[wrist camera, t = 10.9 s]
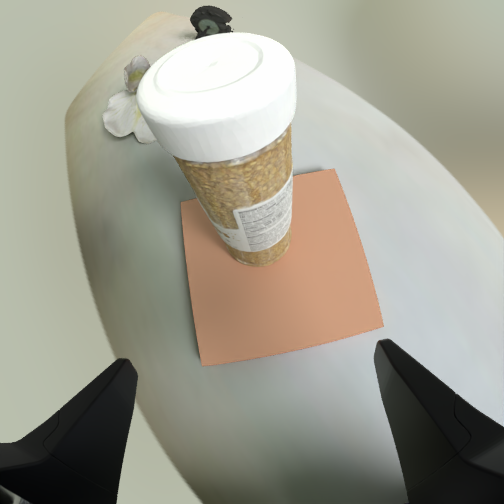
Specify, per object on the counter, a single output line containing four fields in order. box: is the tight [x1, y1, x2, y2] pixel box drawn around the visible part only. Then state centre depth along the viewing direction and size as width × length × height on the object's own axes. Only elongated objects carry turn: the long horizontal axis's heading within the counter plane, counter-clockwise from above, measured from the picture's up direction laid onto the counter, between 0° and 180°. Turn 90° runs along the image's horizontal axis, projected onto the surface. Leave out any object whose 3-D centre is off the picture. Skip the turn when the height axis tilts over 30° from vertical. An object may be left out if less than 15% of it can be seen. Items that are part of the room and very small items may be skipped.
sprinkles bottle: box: [136, 32, 296, 267], centre depth 12 cm, size 5×5×13 cm
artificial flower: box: [102, 6, 233, 145], centre depth 24 cm, size 9×22×10 cm, turn 158°
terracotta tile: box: [181, 169, 384, 366], centre depth 18 cm, size 12×12×1 cm
